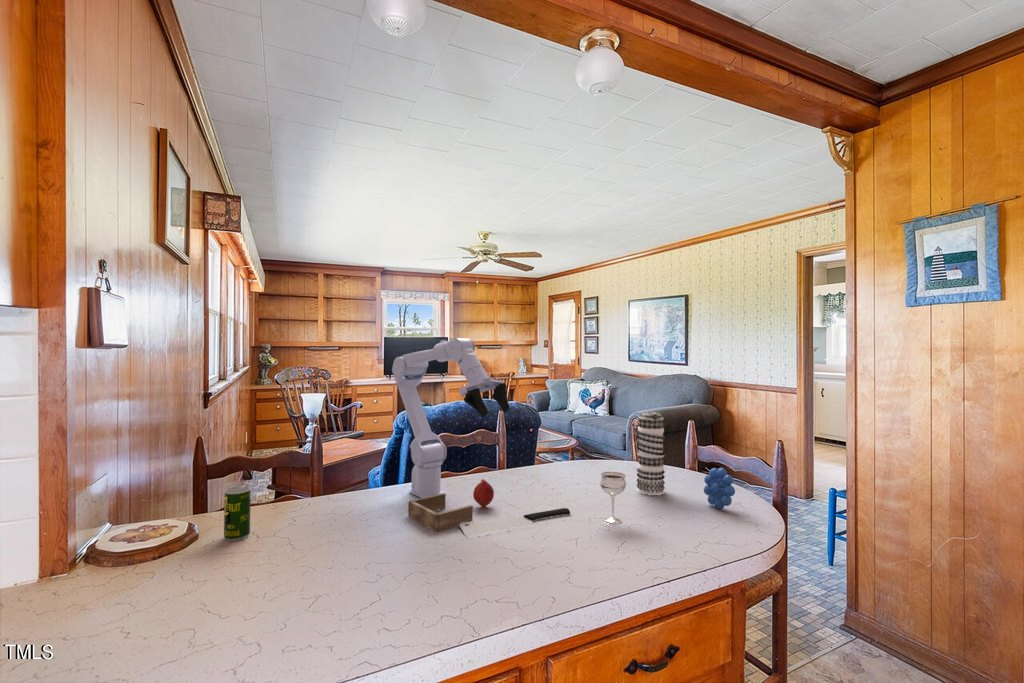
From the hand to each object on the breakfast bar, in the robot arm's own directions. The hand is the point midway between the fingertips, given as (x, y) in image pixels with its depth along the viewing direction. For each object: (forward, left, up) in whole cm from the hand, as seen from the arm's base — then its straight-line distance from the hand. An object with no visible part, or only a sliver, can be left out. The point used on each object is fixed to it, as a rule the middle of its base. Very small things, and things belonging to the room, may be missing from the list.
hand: (496, 412), depth 127 cm
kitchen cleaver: (+8, +2, -29) cm, 30 cm away
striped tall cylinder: (+13, +52, -28) cm, 61 cm away
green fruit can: (-29, -56, -28) cm, 69 cm away
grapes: (+35, +54, -28) cm, 71 cm away
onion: (-9, +2, -28) cm, 30 cm away
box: (-9, -12, -28) cm, 32 cm away
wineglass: (+21, +22, -28) cm, 42 cm away
